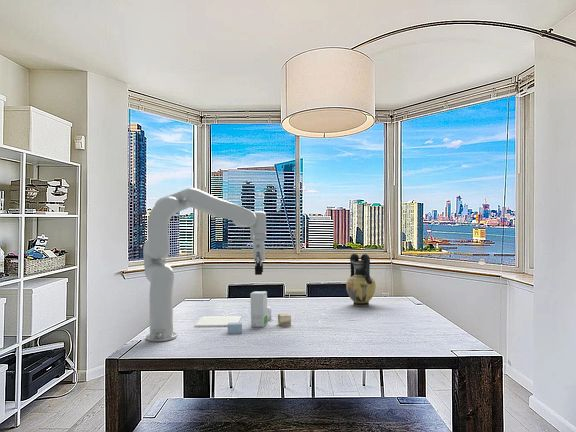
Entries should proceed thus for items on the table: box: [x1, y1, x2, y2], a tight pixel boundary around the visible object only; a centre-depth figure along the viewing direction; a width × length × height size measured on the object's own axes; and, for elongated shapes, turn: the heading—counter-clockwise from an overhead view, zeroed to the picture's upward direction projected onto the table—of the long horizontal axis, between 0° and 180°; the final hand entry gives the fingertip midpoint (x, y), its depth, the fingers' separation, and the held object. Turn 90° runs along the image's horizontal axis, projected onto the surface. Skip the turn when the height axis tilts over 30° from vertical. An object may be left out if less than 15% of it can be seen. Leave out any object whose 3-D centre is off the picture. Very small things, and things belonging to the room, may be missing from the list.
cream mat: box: [194, 315, 242, 328], centre depth 217 cm, size 20×20×1 cm
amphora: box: [345, 253, 376, 307], centre depth 259 cm, size 18×17×30 cm
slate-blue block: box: [227, 321, 243, 334], centre depth 196 cm, size 4×6×4 cm, turn 92°
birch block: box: [277, 312, 292, 327], centre depth 210 cm, size 5×5×5 cm
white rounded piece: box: [267, 305, 272, 321], centre depth 223 cm, size 5×5×6 cm
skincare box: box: [249, 290, 269, 328], centre depth 210 cm, size 8×7×16 cm
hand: (259, 273), depth 210 cm, fingers open, 9 cm apart
